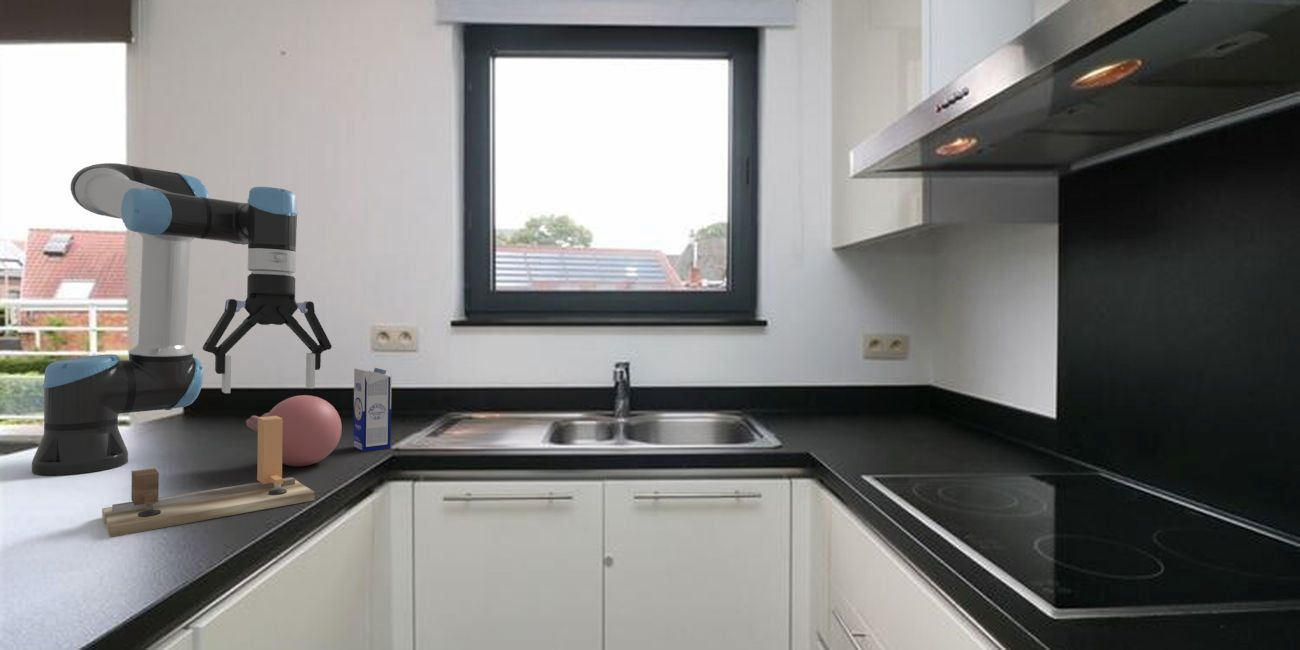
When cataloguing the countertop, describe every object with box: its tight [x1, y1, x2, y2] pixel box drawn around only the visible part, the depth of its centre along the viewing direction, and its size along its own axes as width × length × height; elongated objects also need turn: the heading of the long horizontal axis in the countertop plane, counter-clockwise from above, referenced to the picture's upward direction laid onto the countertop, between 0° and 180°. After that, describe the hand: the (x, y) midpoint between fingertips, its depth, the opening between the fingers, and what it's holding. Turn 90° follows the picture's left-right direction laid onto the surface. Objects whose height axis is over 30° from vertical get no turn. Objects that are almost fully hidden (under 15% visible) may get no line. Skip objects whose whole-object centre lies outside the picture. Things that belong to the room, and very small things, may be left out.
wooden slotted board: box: [101, 467, 316, 538], centre depth 108 cm, size 12×28×7 cm, turn 135°
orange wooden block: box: [256, 416, 284, 490], centre depth 114 cm, size 8×3×12 cm, turn 45°
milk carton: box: [352, 367, 392, 452], centre depth 158 cm, size 7×7×20 cm
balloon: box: [245, 394, 343, 467], centre depth 139 cm, size 15×20×15 cm
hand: (269, 390), depth 116 cm, fingers open, 13 cm apart
